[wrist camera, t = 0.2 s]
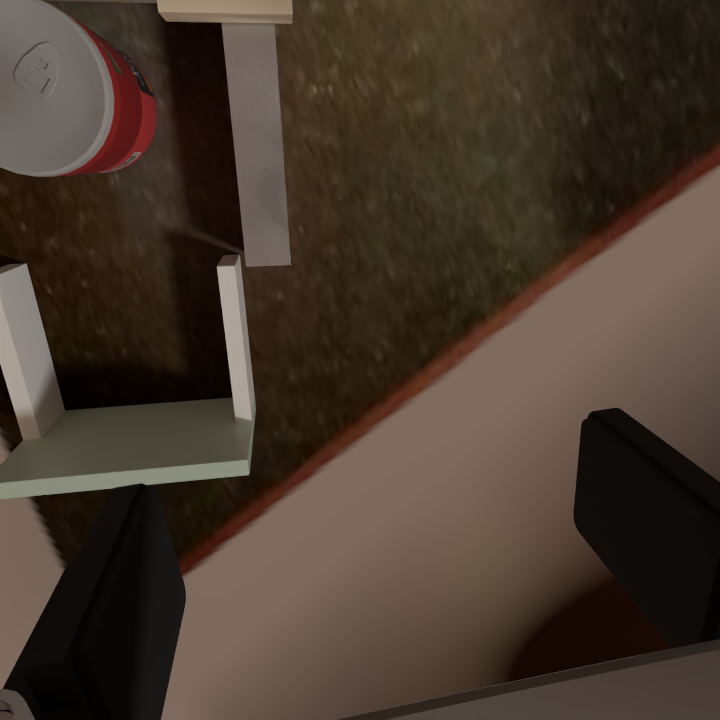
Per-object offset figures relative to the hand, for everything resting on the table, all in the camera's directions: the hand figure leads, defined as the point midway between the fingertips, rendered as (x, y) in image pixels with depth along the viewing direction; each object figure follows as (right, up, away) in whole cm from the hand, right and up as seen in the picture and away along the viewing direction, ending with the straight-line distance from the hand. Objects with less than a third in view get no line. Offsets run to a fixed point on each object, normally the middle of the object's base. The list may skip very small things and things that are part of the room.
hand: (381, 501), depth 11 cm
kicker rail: (-8, +22, +24) cm, 33 cm away
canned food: (-18, +20, +23) cm, 36 cm away
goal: (-18, +5, +29) cm, 34 cm away
